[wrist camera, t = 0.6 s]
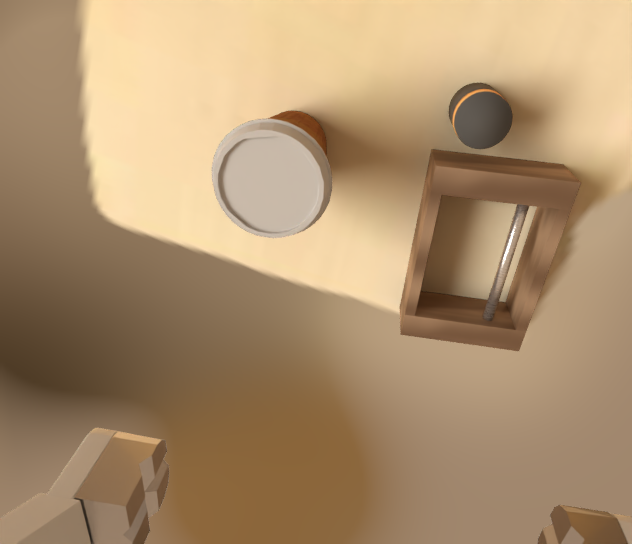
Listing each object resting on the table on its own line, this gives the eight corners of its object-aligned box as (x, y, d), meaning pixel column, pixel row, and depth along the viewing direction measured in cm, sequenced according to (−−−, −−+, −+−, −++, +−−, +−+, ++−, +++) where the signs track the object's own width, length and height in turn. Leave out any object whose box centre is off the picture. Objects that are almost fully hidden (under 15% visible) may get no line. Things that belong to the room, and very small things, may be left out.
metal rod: (521, 185, 44) (523, 189, 43) (532, 187, 44) (535, 191, 43) (479, 322, 51) (481, 328, 50) (489, 323, 51) (490, 329, 50)
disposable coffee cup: (360, 119, 45) (351, 157, 35) (319, 205, 50) (301, 261, 40) (265, 74, 45) (228, 99, 34) (233, 166, 49) (192, 213, 39)
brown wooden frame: (431, 149, 46) (435, 165, 42) (562, 164, 45) (581, 182, 41) (399, 307, 55) (400, 334, 51) (508, 322, 54) (518, 351, 50)
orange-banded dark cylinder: (454, 79, 43) (461, 89, 39) (506, 85, 43) (519, 95, 38) (443, 131, 45) (449, 146, 41) (493, 136, 45) (504, 152, 40)
